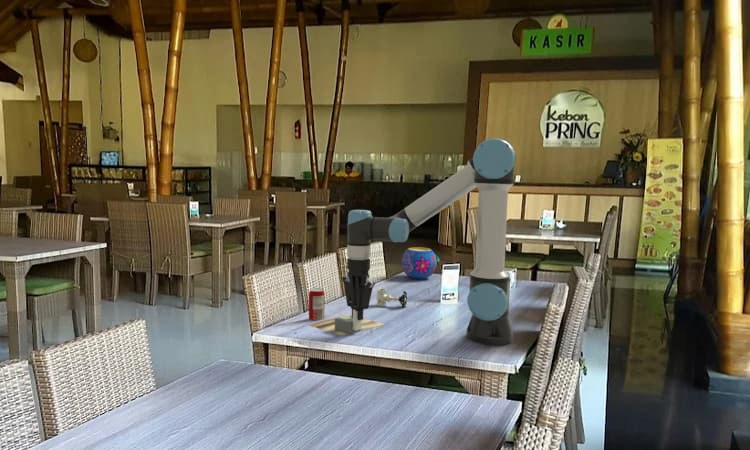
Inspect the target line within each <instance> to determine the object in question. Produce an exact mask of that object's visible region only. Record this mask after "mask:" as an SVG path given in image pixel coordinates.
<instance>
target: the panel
mask: <svg viewBox="0 0 750 450" xmlns="http://www.w3.org/2000/svg"><path fill="white" fill-rule="evenodd" d="M342 316H349V317H352V314H345V315H341V316H336V317H331V318H329V319H323V320H319V321H317V322H313V323H308V324H307V326H311V327H314V328H317V329H320V330H323V331H325V332H329V333H333V334H335V335H339V336H343V337H346V336H350V335H351V334H346V333H343V332H340V331H337V330H335V318H338V317H342ZM384 325H386V324H385V323H382V322H378V321H374V320H371V319H368V318H365V317H363V320H362V329H360V332H364V331H366V330H367V331H368V330H370V329H374V328H377V327H381V326H384ZM357 333H358V332H356V333H355V334H357Z"/></svg>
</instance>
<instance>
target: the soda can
mask: <svg viewBox="0 0 750 450" xmlns="http://www.w3.org/2000/svg"><path fill="white" fill-rule="evenodd" d="M325 299H326V297H325V289H324V288H320V287H315V288H314V287H312V288H310V289H309V291H308V320H310V321H317V322H319V321H324V320H325Z"/></svg>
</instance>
